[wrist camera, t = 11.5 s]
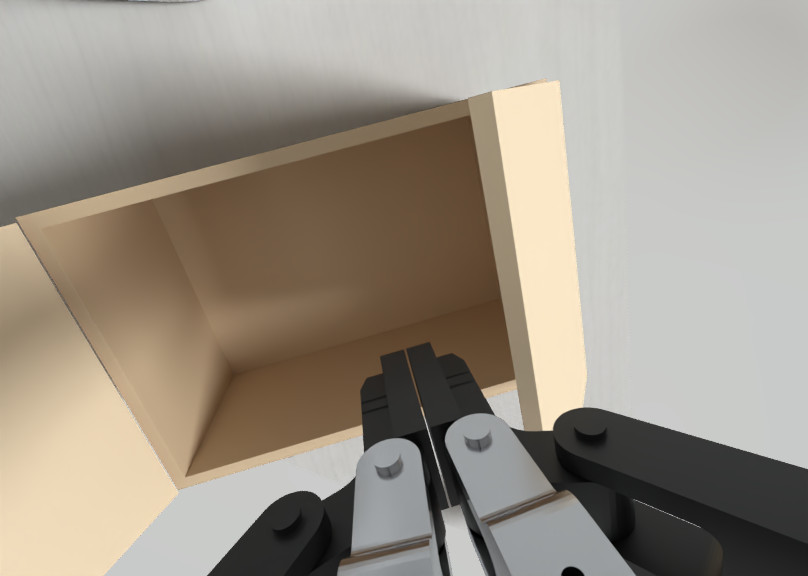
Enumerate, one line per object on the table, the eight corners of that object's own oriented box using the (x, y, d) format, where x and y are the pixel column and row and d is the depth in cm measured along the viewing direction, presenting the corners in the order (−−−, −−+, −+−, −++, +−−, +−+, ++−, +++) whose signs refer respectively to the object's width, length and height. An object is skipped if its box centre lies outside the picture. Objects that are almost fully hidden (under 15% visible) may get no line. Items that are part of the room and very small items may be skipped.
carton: (140, 189, 25) (15, 217, 15) (472, 102, 26) (546, 78, 16) (230, 380, 30) (178, 489, 20) (505, 301, 30) (577, 371, 21)
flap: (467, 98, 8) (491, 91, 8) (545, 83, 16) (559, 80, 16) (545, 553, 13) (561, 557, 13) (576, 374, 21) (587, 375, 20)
